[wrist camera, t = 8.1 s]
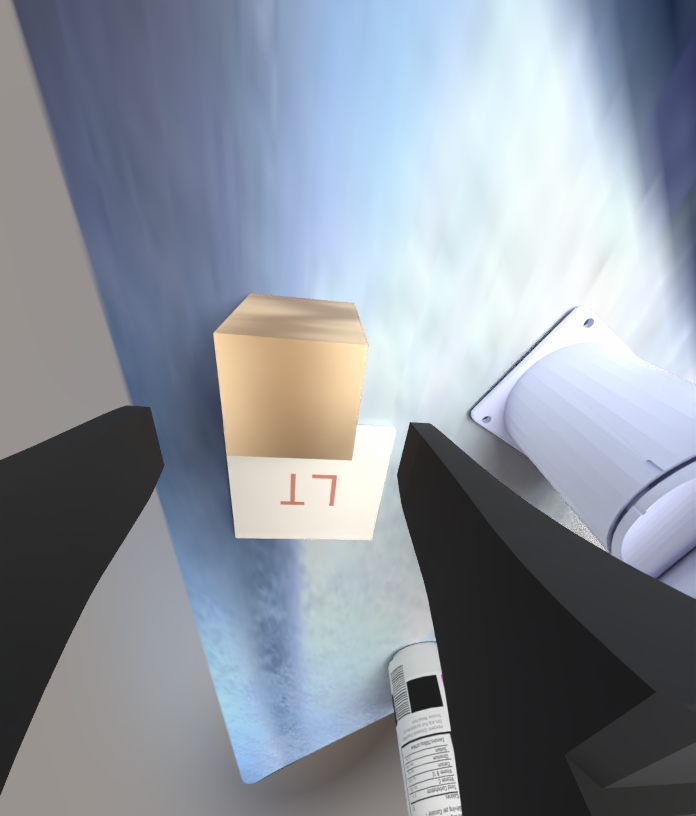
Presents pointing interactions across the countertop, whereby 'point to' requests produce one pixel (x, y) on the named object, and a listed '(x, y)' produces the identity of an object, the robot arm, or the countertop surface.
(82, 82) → the countertop surface
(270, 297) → the oak cube
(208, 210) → the countertop surface
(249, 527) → the tile
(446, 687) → the robot arm
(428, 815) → the supplement can
